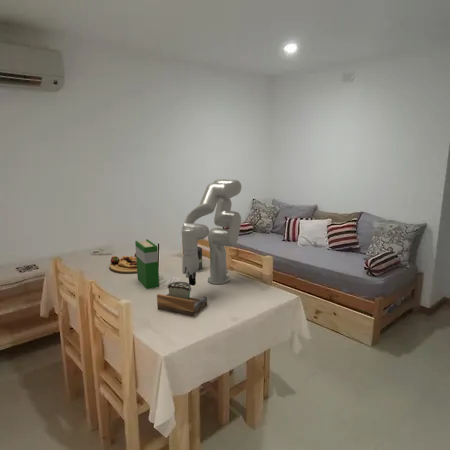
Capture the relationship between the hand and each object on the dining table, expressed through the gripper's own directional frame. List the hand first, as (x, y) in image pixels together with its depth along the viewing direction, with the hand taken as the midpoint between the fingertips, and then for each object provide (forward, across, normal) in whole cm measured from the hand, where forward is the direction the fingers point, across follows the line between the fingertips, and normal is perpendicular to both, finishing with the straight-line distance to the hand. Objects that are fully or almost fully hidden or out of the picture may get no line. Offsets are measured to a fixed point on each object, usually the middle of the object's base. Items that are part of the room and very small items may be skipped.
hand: (192, 284), depth 189 cm
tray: (+6, +13, +1) cm, 15 cm away
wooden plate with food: (+9, -30, -62) cm, 70 cm away
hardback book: (+8, -8, -34) cm, 36 cm away
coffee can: (+10, -39, -21) cm, 46 cm away
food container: (+4, +13, +1) cm, 14 cm away
